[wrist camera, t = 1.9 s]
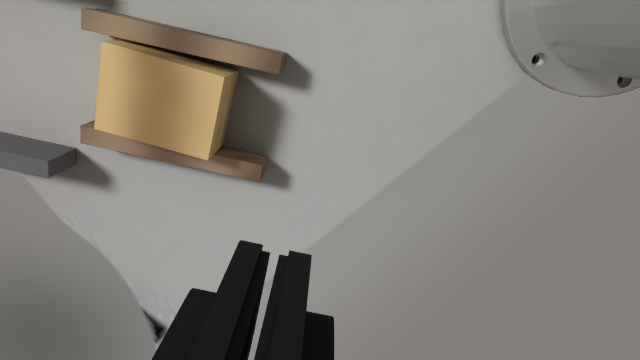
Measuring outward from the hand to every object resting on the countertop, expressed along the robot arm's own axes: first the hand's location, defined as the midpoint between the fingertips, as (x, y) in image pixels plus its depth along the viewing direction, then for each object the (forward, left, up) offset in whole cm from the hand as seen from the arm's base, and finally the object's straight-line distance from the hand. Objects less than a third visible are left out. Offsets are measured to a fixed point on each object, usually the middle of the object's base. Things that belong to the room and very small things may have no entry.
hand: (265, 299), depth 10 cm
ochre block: (+9, 0, -19) cm, 21 cm away
